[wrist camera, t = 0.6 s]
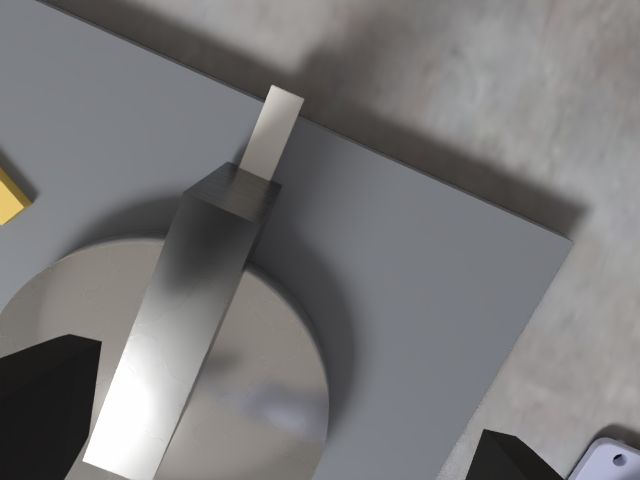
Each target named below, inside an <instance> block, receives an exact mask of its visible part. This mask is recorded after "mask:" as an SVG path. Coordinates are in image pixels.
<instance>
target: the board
mask: <svg viewBox="0 0 640 480" xmlns="http://www.w3.org/2000/svg"><path fill="white" fill-rule="evenodd" d="M304 100H305V99H303V98H301V97H299V96H297V95H295V94H292V93H290V92H288V91H286V90H284V89H281V88H279V87H277V86H275V85H272V86H271V88H270V91H269V93H268V96H267V98H266V100H263V99H261V98H259V97H257V96H255V95H252V94H250V93H248V92H246V91H243V90H241V89H239V88H237V87H234V86H232V85H230V84H228V83H226V82H223V81H221V80H219V79H217V78H214V77H212V76H210V75H208V74H206V73H203V72H201V71H199V70H197V69H194V68H192V67H190V66H188V65H186V64H183V63H181V62H179V61H177V60H174V59H172V58H170V57H168V56H165V55H163V54H161V53H159V52H157V51H154V50H152V49H150V48H148V47H145V46H143V45H141V44H139V43H137V42H134V41H132V40H130V39H128V38H125V37H123V36H121V35H119V34H117V33H114V32H112V31H110V30H108V29H105V28H103V27H101V26H99V25H96V24H94V23H92V22H90V21H88V20H85V19H83V18H81V17H79V16H76V15H74V14H72V13H70V12H68V11H65V10H63V9H61V8H59V7H56V6H54V5H52V4H50V3H48V2H45V1H43V0H0V314H1V312H2V311H3V309H4V307H5V306H6V305H7V304H8V303H9V301H10V300H11V299H12V298H13V296H14V295H15V294H16V293H17V292H18V291H19V290H20V289H21V288H22V287H23V286H24V285H25V284H26V283H27V282H29V281H30V280H31V279H32V278H33V277H34V276H36V275H38V274H39V273H41V272H42V271H44V270H45V269H47V268H48V267H50V266H51V265H53V264H54V263H56V262H57V261H59V260H61V259H62V258H64V257H65V256H67V255H69V254H70V253H72V252H73V251H75V250H77V249H79V248H81V247H83V246H85V245H88V244H90V243H92V242H94V241H97V240H100V239H104V238H107V237H110V236H113V235H118V234H124V233H130V232H136V231H169V229H170V226H171V224H172V221H173V218H174V216H175V213H176V210H177V208H178V205H179V202H180V200H181V197H182V194H183V192H184V191H186V190H187V189H188V188H190V187H191V186H193V185H194V184H196V183H197V182H199V181H200V180H201V179H203V178H204V177H206V176H207V175H209V174H210V173H212V172H213V171H214V170H216V169H217V168H219V167H220V166H222V165H223V164H225V163H226V162H227V161H228V162H231V163H233V164H235V165H238V166H239V168H241V169H243V170H246V171H248V172H250V173H253V174H255V175H257V176H259V177H262V178H264V179H266V180H269V181H270V180H272V181H274V182H276V183H279V184H281V185H282V188H281V190H280V192H279V195H278V197H277V199H276V202H275V204H274V206H273V209H272V211H271V214H270V216H269V218H268V221H267V223H266V225H265V228H264V230H263V232H262V235H261V237H260V239H259V242H258V244H257V246H256V249H255V251H254V254H253V256H252V258H251V259H252V260H254V261H255V262H257V263H258V264H260V265H261V266H263V267H264V268H266V269H267V270H268V271H269V272H270V273H272V274H273V275H274V276H275V277H276V278H277V279H279V280H280V281H281V282H282V283H283V284H284V285H285V286H286V287H287V289H288V290H289V291H290V292H291V293H292V294H293V295H294V296H295V297H296V299H297V300H298V301H299V303H300V304H301V306H302V307H303V309H304V310H305V311H306V313H307V314H308V316H309V318H310V320H311V322H312V324H313V326H314V327H315V329H316V331H317V333H318V336H319V339H320V341H321V344H322V347H323V350H324V353H325V358H326V363H327V368H328V373H329V418H328V428H327V438H326V442H325V445H324V449H323V453H322V457H321V459H320V462H319V464H318V466H317V469H316V471H315V473H314V475H313V477H312V478H311V480H434V479H435V477H436V476H437V474H438V472H439V471H440V469H441V467H442V466H443V464H444V462H445V461H446V459H447V457H448V455H449V454H450V452H451V450H452V449H453V447H454V445H455V444H456V442H457V440H458V439H459V437H460V435H461V434H462V432H463V430H464V428H465V427H466V425H467V423H468V422H469V420H470V418H471V417H472V415H473V413H474V412H475V410H476V408H477V407H478V405H479V403H480V401H481V400H482V398H483V396H484V395H485V393H486V391H487V390H488V388H489V386H490V385H491V383H492V381H493V380H494V378H495V376H496V375H497V373H498V371H499V369H500V368H501V366H502V364H503V363H504V361H505V359H506V358H507V356H508V354H509V353H510V351H511V349H512V348H513V346H514V344H515V342H516V341H517V339H518V337H519V336H520V334H521V332H522V331H523V329H524V327H525V326H526V324H527V322H528V321H529V319H530V317H531V316H532V314H533V312H534V310H535V309H536V307H537V305H538V304H539V302H540V300H541V299H542V297H543V295H544V294H545V292H546V290H547V289H548V287H549V285H550V283H551V282H552V280H553V278H554V277H555V275H556V273H557V272H558V270H559V268H560V267H561V265H562V263H563V262H564V260H565V258H566V257H567V255H568V253H569V251H570V250H571V248H572V246H573V245H574V243H575V242H573V241H572V240H570V239H569V238H567V237H566V236H564V235H563V234H561V233H559V232H557V231H555V230H553V229H551V228H548V227H546V226H544V225H542V224H539V223H537V222H535V221H533V220H530V219H528V218H526V217H524V216H522V215H519V214H517V213H515V212H513V211H510V210H508V209H506V208H504V207H502V206H499V205H497V204H495V203H493V202H490V201H488V200H486V199H484V198H482V197H479V196H477V195H475V194H473V193H470V192H468V191H466V190H464V189H461V188H459V187H457V186H455V185H453V184H450V183H448V182H446V181H444V180H441V179H439V178H437V177H435V176H433V175H430V174H428V173H426V172H424V171H421V170H419V169H417V168H415V167H413V166H410V165H408V164H406V163H404V162H401V161H399V160H397V159H395V158H393V157H390V156H388V155H386V154H384V153H381V152H379V151H377V150H375V149H372V148H370V147H368V146H366V145H364V144H361V143H359V142H357V141H355V140H352V139H350V138H348V137H346V136H344V135H341V134H339V133H337V132H335V131H332V130H330V129H328V128H326V127H324V126H321V125H319V124H317V123H315V122H312V121H310V120H308V119H306V118H303V117H301V116H299V115H298V114H299V111H300V109H301V107H302V104H303V102H304Z"/></svg>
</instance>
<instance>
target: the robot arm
mask: <svg viewBox="0 0 640 480" xmlns="http://www.w3.org/2000/svg"><path fill="white" fill-rule="evenodd" d="M101 345H102V341H99V340H94V339H90V338H86V337H81V336H77V335H73V334H67V335H63V336H60V337H56V338H53V339H50V340H48V341H45V342H42V343H39V344H37V345H34V346H31V347H28V348H26V349H23V350H20V351H18V352H15V353H12V354H10V355H7V356H4V357H2V358H0V480H65V478H66V476H67V474H68V473H69V471H70V469H71V468H72V466H73V464H74V462H75V461H76V459H77V457H78V455H79V453H80V452H81V450H82V448H83V446H84V444H85V442H86V441H87V439H88V437H89V431H90V424H91V417H92V410H93V403H94V396H95V388H96V381H97V374H98V367H99V360H100V353H101ZM618 454H622V455H621V457H619V458H618V459H613V458H614V457H615V456H616V455H618ZM465 480H564V479H563V478H562V477H561V476H560V475H559V474H558V473H557V472H556V471H555V470H554V469H552V468H551V467H550V466H549V465H548V464H547V463H546V462H545V461H544V460H543V459H542V458H541V457H540V456H539V455H537V454H536V453H535V452H534V451H533V450H532V449H531V448H530V447H528V446H527V445H526V444H525V443H524V442H522V441H521V440H520V439H519V438H517V437H516V436H512V435H508V434H504V433H499V432H495V431H490V430H486V429H484V430H483V433H482V435H481V438H480V441H479V444H478V446H477V449H476V452H475V455H474V457H473V460H472V463H471V466H470V468H469V471H468V474H467V477H466V479H465ZM568 480H640V450H637V449H635V448H632V447H630V446H628V445H625V444H623V443H621V442H618V441H616V440H613V439H611V438H606V437H605V438H599V439H597V440H595V441H594V442H593V443H592V445H591V446H590V448H589V449H588V451H587V452H586V453H585V455H584V456H583V458H582V459H581V461H580V462H579V464H578V465H577V467H576V468H575V470H574V471H573V473H572V474H571V476H570V477H569V479H568Z"/></svg>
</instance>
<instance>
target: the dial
mask: <svg viewBox="0 0 640 480" xmlns="http://www.w3.org/2000/svg"><path fill="white" fill-rule="evenodd" d="M281 188H282V185H281V184H279V183H276V182H274V181H272V180H270V181H269V180H266V179H264V178H262V177H259V176H257V175H255V174H253V173H250V172H248V171H246V170H243V169H241V168H239V166H238V165H235V164H233V163H231V162H228V161H227V162H226V163H225V164H223V165H222V166H220V167H219V168H217V169H216V170H214V171H213V172H212V173H210V174H209V175H207V176H206V177H204V178H203V179H201V180H200V181H199V182H197V183H196V184H194V185H193V186H191V187H190V188H188V189H187V190H186V191H184V192H183V194H182V197H181V200H180V202H179V205H178V208H177V210H176V213H175V216H174V218H173V221H172V224H171V226H170V229H169V231H136V232H130V233H124V234H118V235H113V236H110V237H107V238H104V239H100V240H97V241H94V242H92V243H90V244H88V245H85V246H83V247H81V248H79V249H77V250H75V251H73V252H72V253H70V254H69V255H67V256H65V257H64V258H62V259H61V260H59V261H57V262H56V263H54V264H53V265H51V266H50V267H48V268H47V269H45V270H44V271H42V272H41V273H39V274H38V275H36V276H34V277H33V278H32V279H31V280H30V281H29V282H27V283H26V284H25V285H24V286H23V287H22V288H21V289H20V290H19V291H18V292H17V293H16V294H15V295H14V296H13V298H12V299H11V300H10V301H9V303H8V304H7V305H6V306H5V307H4V309H3V311H2V312H1V314H0V358H2V357H4V356H7V355H10V354H12V353H15V352H18V351H20V350H23V349H26V348H28V347H31V346H34V345H37V344H39V343H42V342H45V341H48V340H50V339H53V338H56V337H60V336H63V335H67V334H73V335H77V336H81V337H86V338H90V339H94V340H99V341H102V345H101V353H100V360H99V367H98V374H97V381H96V388H95V396H94V403H93V410H92V417H91V424H90V431H89V437H88V439H87V441H86V442H85V444H84V446H83V448H82V450H81V452H80V453H79V455H78V457H77V459H76V461H75V462H74V464H73V466H72V468H71V469H70V471H69V473H68V474H67V476H66V478H65V480H311V478H312V477H313V475H314V473H315V471H316V469H317V466H318V464H319V462H320V459H321V457H322V453H323V449H324V445H325V442H326V438H327V428H328V418H329V373H328V368H327V363H326V358H325V353H324V350H323V347H322V344H321V341H320V339H319V336H318V333H317V331H316V329H315V327H314V326H313V324H312V322H311V320H310V318H309V316H308V314H307V313H306V311H305V310H304V309H303V307H302V306H301V304H300V303H299V301H298V300H297V299H296V297H295V296H294V295H293V294H292V293H291V292H290V291H289V290H288V289H287V287H286V286H285V285H284V284H283V283H282V282H281V281H280V280H279V279H277V278H276V277H275V276H274V275H273V274H272V273H270V272H269V271H268V270H267V269H266V268H264V267H263V266H261V265H260V264H258V263H257V262H255V261H254V260H252V259H251V258H252V256H253V254H254V251H255V249H256V246H257V244H258V242H259V239H260V237H261V235H262V232H263V230H264V228H265V225H266V223H267V221H268V218H269V216H270V214H271V211H272V209H273V206H274V204H275V202H276V199H277V197H278V195H279V192H280V190H281Z"/></svg>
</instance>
